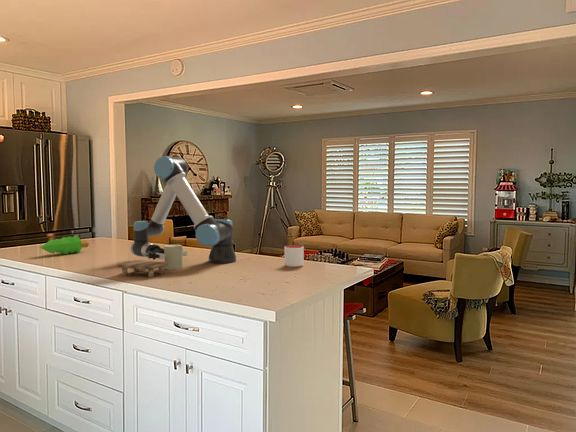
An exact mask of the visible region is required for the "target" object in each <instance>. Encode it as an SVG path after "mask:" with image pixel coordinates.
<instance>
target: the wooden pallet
mask: <svg viewBox="0 0 576 432" xmlns="http://www.w3.org/2000/svg"><path fill="white" fill-rule="evenodd" d="M165 265H168V262H165V261H154V260H131V261H127V262H124V263H120V264H117V268H118V269H120V268H121V269H122V270H121V273H122V274H121V275H122V277H127V276H128V274H129V273H128V269H133V271H132V272H133V273H139V272H140V271H139V270H147V271H148V272H147V273H148V278H154V277H155V272H154V271H155V270H156V269H158V274H159V273H163V274H165V269H164V268H165Z"/></svg>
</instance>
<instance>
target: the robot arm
mask: <svg viewBox="0 0 576 432" xmlns="http://www.w3.org/2000/svg"><path fill="white" fill-rule="evenodd" d="M153 172H154V174H155V175H156V177H157V178H160V179H161V180H163V181H164V183H165V186H164V188H163V191H162V194H161V196H160V198H159V199H158V200H159V201H158V202H157V203H156V204H157V205H156V207H155V210H154V212H153V214H152V216H151V219H150V221H148V220H137V221H136V220H135V221H134V223H133V243H132V244H131V247H130V252H131V253H132V255H134V256H137V257H143V258H147V259H148V260H149V259H152V261H154V260H156V259H160V260H163V261H165V254H164V247H163V248H162V247H161V246H160V245H158V244H154V243H149V238H150V237H154V236H155V237H157V236H159V235H161V234H163V233H164V231H165V225H164V223H165V222H166V219H167V217H168V215H169V212H170V210H171V209H172V206H173V204H174V202H175V199H176V197H177V198H178V200H179V202H180V204H182V206H183V208H184V209H185V211H186V213H187V214H188V215H189V216H188V217H190V219H191V221H192V222H193V229H194V231H195V238H196V241H197V242H198V243H199V244H200V245H202V246H204V247H211V248H210V252H209V255H208V262H209V263H213V264H229V263H230V264H231V263H234V262H236V261H237V255H236V252H235V250H234V242H233V241H234V239H233V238H234V236H233V234H234V229H233V228H234V226H233V220H231V219H222V218H221V219H217V218H214V216H213V215H209V213H208V212H207V209H205V207H204V205H203V204H202V203H201V201H200V199H199V197H198V196H197V195H196V193H195V192H194V190H193V188H192V187H191V185H190V183H189V182H188V181H187V177H188V173H189V166H188V163H187V162H186V161H185V159H183V158H182V157H180V156H169V155H164V156H159V157H158V158H157V159H156V161H155V162H154V166H153ZM182 257H188V250H184V249H183V248H182Z"/></svg>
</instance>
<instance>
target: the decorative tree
mask: <svg viewBox="0 0 576 432" xmlns="http://www.w3.org/2000/svg"><path fill="white" fill-rule="evenodd" d="M89 244H90V243H89V241H88V240H87V239H86V240H85V239H83V240H81V239H80V237H79V236H76V235H74V236H67V237H66V236H64V237H62V238H56V239H50V240H49V241H47V242H46V243H44V244H43V245H41V246H39V248H40V249H41V250H43V251H46V252H48V253H50V254H55V253H56V254H57V253H59V254H62V255H66V254H67V255H68V254H74V253H78V254H80V252H81V250H82V249H83V248H88V247H89Z"/></svg>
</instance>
